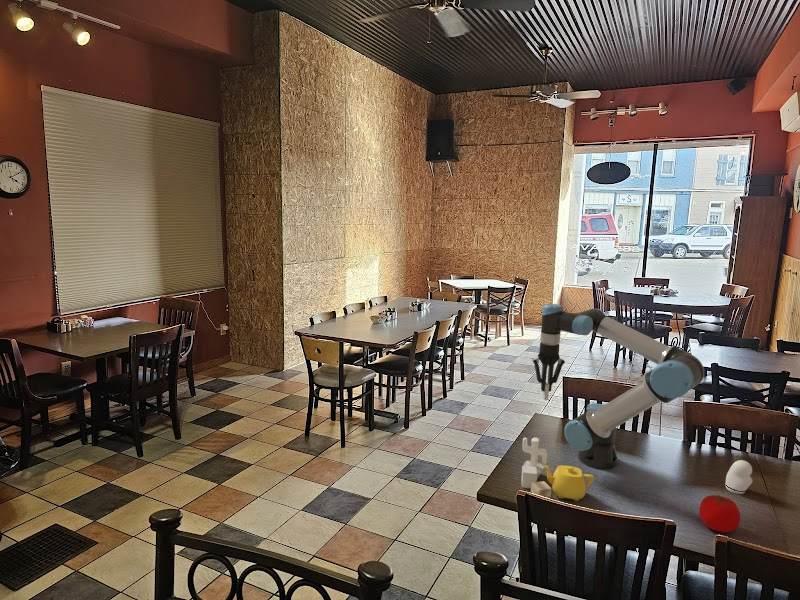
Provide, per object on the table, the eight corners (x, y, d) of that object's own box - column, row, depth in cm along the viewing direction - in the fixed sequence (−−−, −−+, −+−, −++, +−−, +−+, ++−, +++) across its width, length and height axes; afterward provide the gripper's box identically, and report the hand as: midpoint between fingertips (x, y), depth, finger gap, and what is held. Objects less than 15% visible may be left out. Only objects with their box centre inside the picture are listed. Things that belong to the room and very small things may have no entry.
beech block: (543, 493, 190) (544, 481, 189) (550, 501, 185) (551, 488, 184) (530, 495, 188) (531, 482, 188) (537, 503, 184) (538, 490, 183)
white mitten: (741, 497, 190) (746, 466, 188) (720, 487, 197) (725, 457, 195) (752, 492, 194) (757, 462, 191) (731, 482, 200) (736, 453, 198)
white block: (534, 482, 198) (536, 467, 196) (535, 489, 193) (537, 474, 192) (521, 480, 198) (522, 465, 197) (521, 487, 194) (523, 472, 192)
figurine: (543, 482, 197) (546, 445, 194) (518, 476, 201) (520, 439, 198) (547, 474, 203) (550, 438, 200) (523, 468, 207) (525, 432, 205)
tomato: (700, 533, 169) (705, 503, 167) (694, 513, 180) (698, 484, 178) (741, 542, 165) (746, 512, 163) (732, 520, 176) (737, 492, 174)
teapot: (540, 498, 187) (542, 470, 185) (540, 482, 197) (542, 456, 195) (593, 506, 182) (596, 478, 180) (590, 490, 193) (593, 463, 191)
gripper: (563, 340, 214) (558, 395, 218) (531, 339, 214) (527, 394, 218) (569, 345, 206) (564, 402, 211) (536, 344, 206) (531, 401, 211)
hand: (545, 398), depth 214 cm, fingers closed
